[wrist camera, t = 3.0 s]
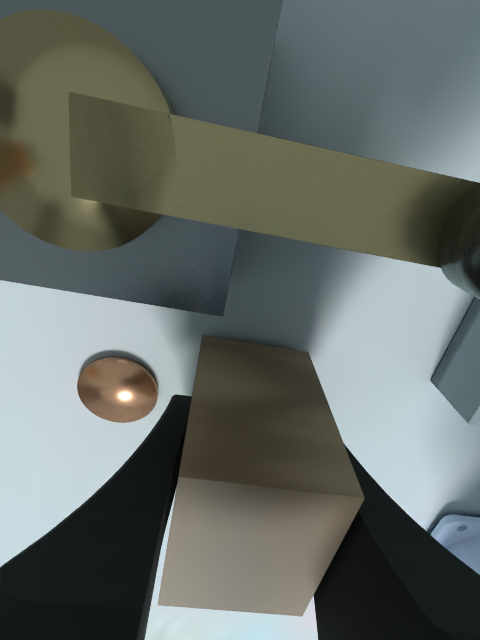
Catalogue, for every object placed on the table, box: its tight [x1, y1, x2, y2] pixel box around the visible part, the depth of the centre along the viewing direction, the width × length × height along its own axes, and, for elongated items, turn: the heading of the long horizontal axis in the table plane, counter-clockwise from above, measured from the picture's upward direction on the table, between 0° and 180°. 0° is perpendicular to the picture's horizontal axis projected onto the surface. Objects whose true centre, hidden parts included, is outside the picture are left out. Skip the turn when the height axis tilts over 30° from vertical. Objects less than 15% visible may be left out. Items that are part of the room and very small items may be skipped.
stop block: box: [158, 335, 365, 616], centre depth 11 cm, size 4×5×6 cm
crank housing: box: [0, 0, 282, 422], centre depth 10 cm, size 7×14×3 cm, turn 169°
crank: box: [0, 10, 480, 300], centre depth 6 cm, size 12×4×3 cm, turn 79°
